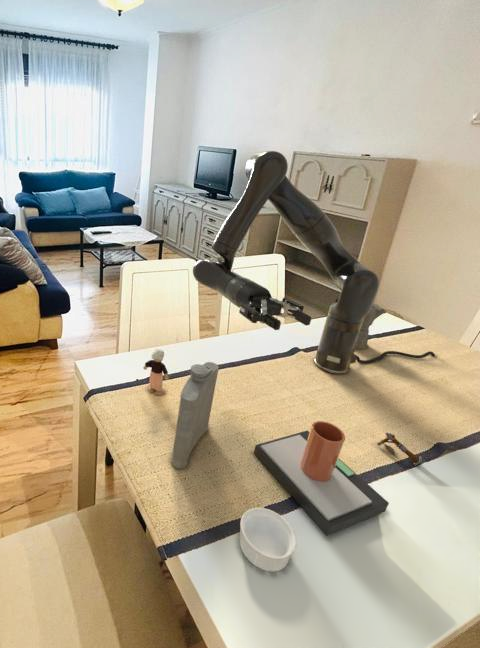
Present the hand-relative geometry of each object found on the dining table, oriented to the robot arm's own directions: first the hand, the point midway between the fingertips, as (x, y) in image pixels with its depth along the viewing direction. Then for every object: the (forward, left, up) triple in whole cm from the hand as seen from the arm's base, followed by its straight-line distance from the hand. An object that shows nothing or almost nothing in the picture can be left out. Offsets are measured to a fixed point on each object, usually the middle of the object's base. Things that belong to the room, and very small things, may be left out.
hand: (294, 323), depth 83 cm
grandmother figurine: (+21, -21, -28) cm, 41 cm away
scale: (+2, +16, -28) cm, 32 cm away
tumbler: (+3, +16, -25) cm, 30 cm away
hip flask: (+22, -1, -28) cm, 36 cm away
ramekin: (+22, +24, -28) cm, 43 cm away
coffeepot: (-58, -26, -28) cm, 69 cm away
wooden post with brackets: (-22, +17, -28) cm, 40 cm away
